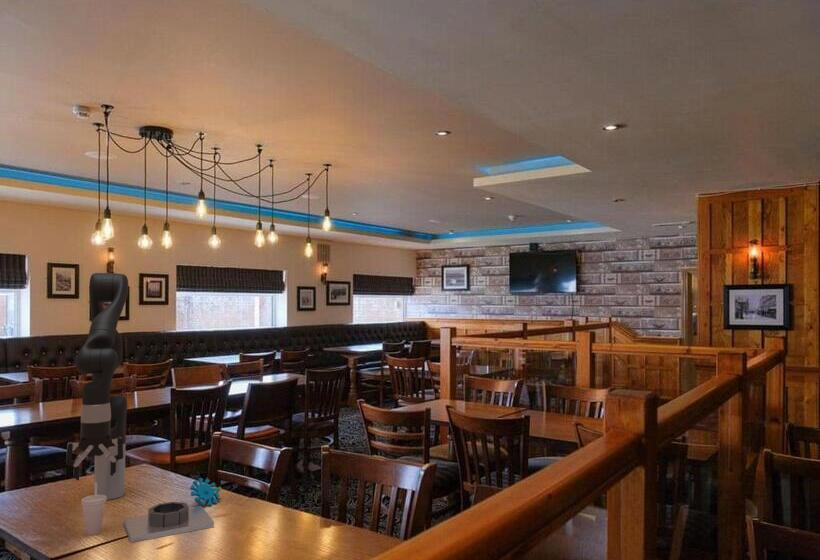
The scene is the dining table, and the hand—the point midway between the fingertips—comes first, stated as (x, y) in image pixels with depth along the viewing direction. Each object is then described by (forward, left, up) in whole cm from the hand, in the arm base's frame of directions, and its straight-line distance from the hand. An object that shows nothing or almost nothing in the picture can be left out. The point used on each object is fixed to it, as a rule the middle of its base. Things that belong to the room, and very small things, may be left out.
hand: (94, 477), depth 171 cm
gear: (-9, +33, -16) cm, 38 cm away
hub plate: (+5, +19, -15) cm, 25 cm away
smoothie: (0, 0, -16) cm, 16 cm away
